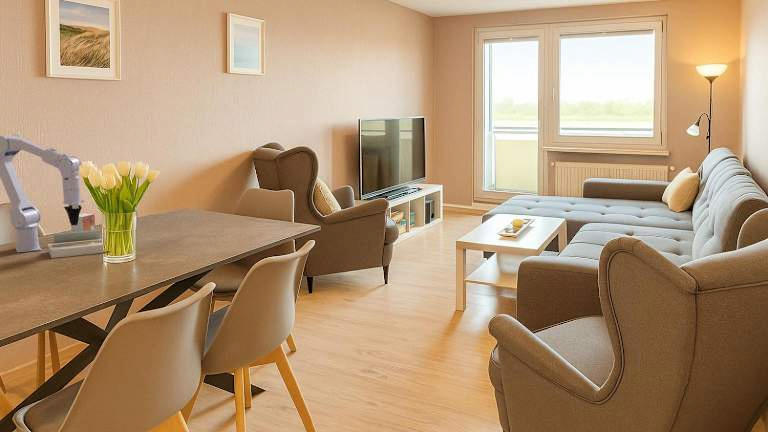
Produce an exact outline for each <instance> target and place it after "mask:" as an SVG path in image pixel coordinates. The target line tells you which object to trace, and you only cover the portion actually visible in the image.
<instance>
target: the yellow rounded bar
mask: <svg viewBox="0 0 768 432" xmlns="http://www.w3.org/2000/svg"><path fill="white" fill-rule="evenodd" d="M92 243H94V242H84V243H74V244H68V246H72V245H82V244H92Z"/></svg>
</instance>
